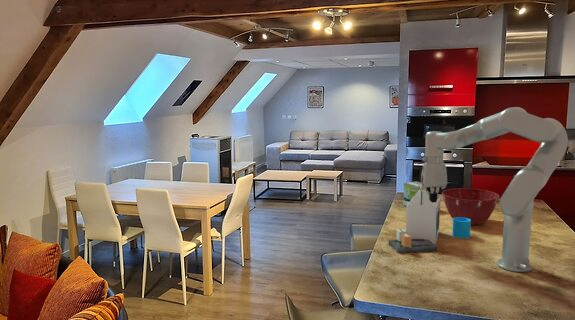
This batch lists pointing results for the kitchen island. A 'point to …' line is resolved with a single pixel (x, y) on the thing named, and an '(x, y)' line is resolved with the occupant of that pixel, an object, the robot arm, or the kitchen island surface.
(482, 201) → the mixing bowl
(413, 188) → the tea box
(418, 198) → the gable box
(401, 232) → the fader ivory
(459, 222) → the mug
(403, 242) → the fader orange
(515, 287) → the kitchen island surface
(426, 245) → the console
